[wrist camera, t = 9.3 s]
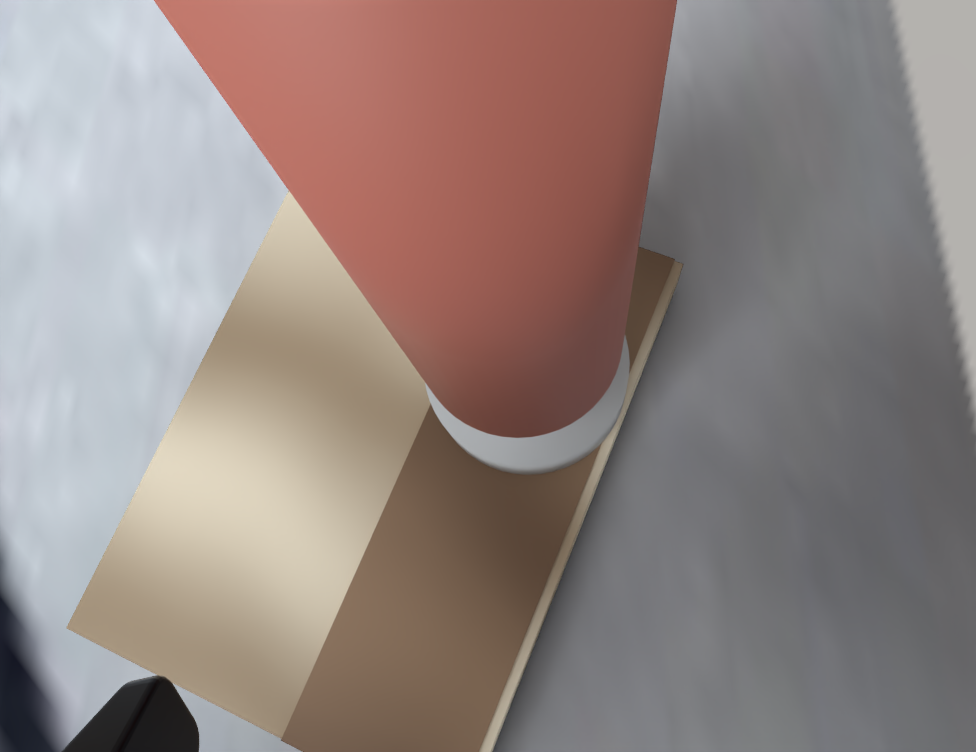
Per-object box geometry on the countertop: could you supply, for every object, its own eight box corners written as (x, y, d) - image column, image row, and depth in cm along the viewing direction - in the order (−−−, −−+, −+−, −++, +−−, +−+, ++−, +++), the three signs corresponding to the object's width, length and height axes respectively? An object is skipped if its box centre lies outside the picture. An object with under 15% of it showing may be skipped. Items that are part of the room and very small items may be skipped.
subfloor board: (467, 813, 16) (458, 832, 15) (99, 625, 18) (63, 628, 17) (677, 283, 18) (683, 262, 17) (330, 163, 20) (313, 136, 19)
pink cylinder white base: (564, 511, 16) (499, 178, 4) (398, 413, 17) (-128, -130, 4) (661, 344, 17) (898, -436, 4) (497, 258, 18) (288, -592, 5)
